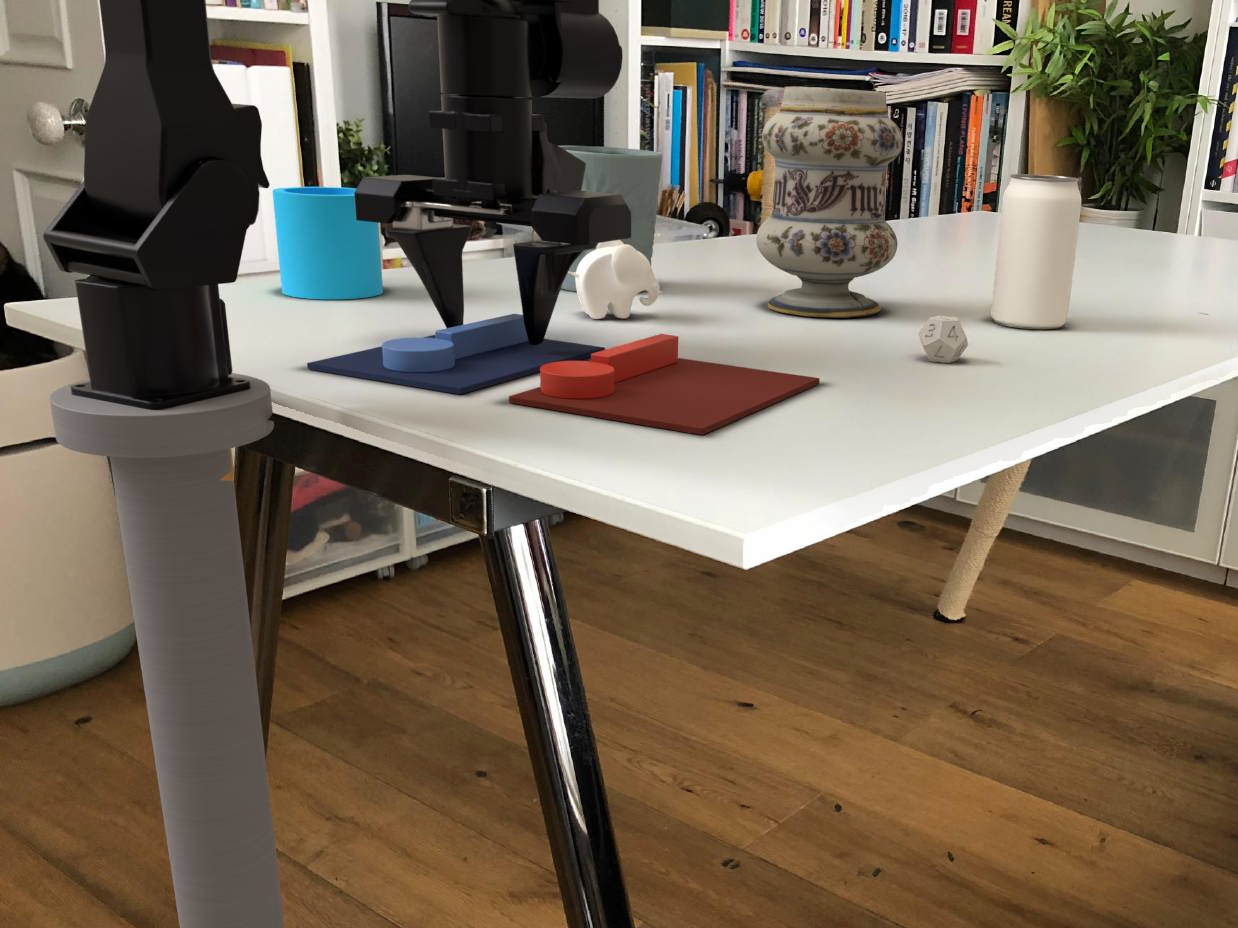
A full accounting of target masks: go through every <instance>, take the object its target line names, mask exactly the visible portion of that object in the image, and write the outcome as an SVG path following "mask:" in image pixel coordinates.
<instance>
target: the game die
mask: <svg viewBox="0 0 1238 928" xmlns="http://www.w3.org/2000/svg"><path fill="white" fill-rule="evenodd" d="M921 327H922V328H920V330H919V332H918V337H919V341H920V343H921V345H922V348H923V350H924V353H925V355H926V358H927V359H928V361H929V362H934V363H942V364H943V363H944V364H950V363H953V362H956V361H958V360H959V358H960V357H961V356H962V355H963V353H964V352H965V350H966V349H967V347H968V346H969V342H968V338H967V334H966V333H965V330H964V328H963V326H962V323H961V320H959V318H958V317H957V316H947V315H946V316H945V315H936V316H931V317H928V319H927V320H926V322H925V323H924V324H923V326H921Z"/></svg>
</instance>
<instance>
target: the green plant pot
mask: <svg viewBox="0 0 1238 928" xmlns="http://www.w3.org/2000/svg"><path fill="white" fill-rule="evenodd" d="M558 146H559V147H561V148H563V149H564V150H566V151H568V152H569V153H571V154H572V155H574V156H576V157H577V158H579V159H580V160H582V161H584V162H585V163H586V169H585V174H584V180H583V185H582V191H590V192H601V193H612V194H621V195H622V197H623V199H624V200H625V202H626V204H627V206H628V208H629V209H630V211H631V238H628V239H621V240H620V241H622V242H623V243H624V245H626V244H627V245H631V246H632V247H633V248H635V249H636V250H637V251H639V252H640V253H642V254H643V255H644V256H645V257H646V258H647V259H648V261H649V263H650V265H651V266H652V258H653V253H654V248H653V247H654V244H655V243H654V242H655V241H654V240H655V233H656V228H655V226H656V221H657V211H658V204H657V201H658V196H659V190H660V180H661V173H662V165H663V164H662V163H663V153H661V152H658V151H653V150H646V149H645V150H644V149H639V148H638V149H637V148H625V147H611V146H588V145H558ZM598 244H599V243H598ZM598 244H597V246H598ZM597 246H596V248H597ZM596 248H595V249H590V250H584V251H583V252H582V253H581V254H580V256H579V257H578V258H577V259H576V260H575V261H574V263H573V264H572V265H571V267H570V269H569V272H576V270H577V267H578V265H579V263H580V262H581V260H582V259H583V258H584V257H585V256H586V255H587V254H589V253H590V252H592V251H594V250H596ZM561 290H566V291H570V292H577V289H576V282H575V276H573V275H572V274H570V273H567V276H566V278H565V280H564V282H563V284H562V287H561Z"/></svg>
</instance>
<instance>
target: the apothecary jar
mask: <svg viewBox="0 0 1238 928" xmlns="http://www.w3.org/2000/svg"><path fill="white" fill-rule="evenodd" d="M761 142H762V145H763V147H764V149H765V150H766V152H767V153H768V154H769V155H771V156H772V157H773V160H774V183H773V195H772V206H771V207H772V208H771V215H769V216H768V217H767V218H766V219H765V220H764V221H763V222H762V224H761V225H760V226H759V228H758V230H757V232H756V239H755V242H756V246H757V249H758V251H759V253H760V254H761V255H762V257H763V258H764V259H765V261H767V262H768V263H769V264H771V265H772V266H774V267H775V268H777V269H779V270H781V271H783V272H785V273H787V274H790V275H792V276H795V277H797V278H798V279H799V280H800V281H801V287H798V288H791V289H787V290H786V291H784V292H783V294H780V295H777V296H774V297H771V299H770V300H768V302H767V308H768V309H770V310H772V311H774V312H778V313H782V314H788V315H793V316H794V315H795V316H802V317H814V318H835V319H836V318H860V317H868V316H872V315H876V314H878V313H880V311H881V309H882V308H881V305H880V304H879V303H878V302H877V301H875V300H873V299H872V298H870V297H867V296H865V295H864V294H862V293H859V292H856V291H852V290H850V289H849V284H850V283H851V282H852V281H853V280H854V279H856V278H860V277H865V276H867V275H870V274H873V273H876V272H877V271H880V270H881V269H883V268H884V267H886V266H887V265H888V264H889V263H890V262H891V261H892V260H893V259H894V257H895V256H896V253H897V249H898V239H897V235H896V233H895V231H894V229H893V228H892V227H891V225H890V224H889V223H888V222H887V221H886V220H885V219H886V216H885V215H886V187H887V174H888V165H889V164H890V163H891V162H893V161H894V160H895V159H897V157H898V156H899V155H900V153H901V152H902V149H903V146H904V137H903V134H902V131H901V129H900V128H899V126H898V125H897V124H896V123H895V122H894V121H893V120H892V119H891V117H889V109H888V107H887V95H886V92H884V91H875V90H873V91H872V90H859V89H847V88H832V87H830V88H829V87H815V86H814V87H813V86H797V85H796V86H794V85H793V86H792V85H791V86H790V85H789V86H786V87H785V89H784V92H783V101H782V103H781V104H780V109H779V111H778V112H777V113H775V114H774V115H773V116H772V117H770V118H769V120H767V122H766V123H765V125H764V127H763V130H762V134H761Z"/></svg>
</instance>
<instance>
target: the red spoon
mask: <svg viewBox="0 0 1238 928" xmlns="http://www.w3.org/2000/svg"><path fill="white" fill-rule="evenodd" d="M678 358H679V336H678V335H673V334H666V333H659V334H655V335H652V336H648V337H645V338H642V339H638V340H634V341H631V342H627V343H624V344H620V345H617V346H613V347H610V348H607V349H606V348H605V350H603V351H599V352H596V353H592V354H591V357H590V361H589V360H578V361H560V362H553V363H548V364H545V365H543V366H541V368H540V372H539V381H540V382H539V383H540V386H539V387H541V392H542V393H544V394H546V395H548V396H552V397H557V398H564V399H594V398H601V397H605V396H609V395H611V394H613V393H614V383H616V382H619V381H622V380H625V379H628V378H632V377H635V376H638V375H641V374H644V373H647V372H650V371H653V370H656V369H659V368H662V367H665V366H668V365H671V364H674V363H677V362H678Z"/></svg>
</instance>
